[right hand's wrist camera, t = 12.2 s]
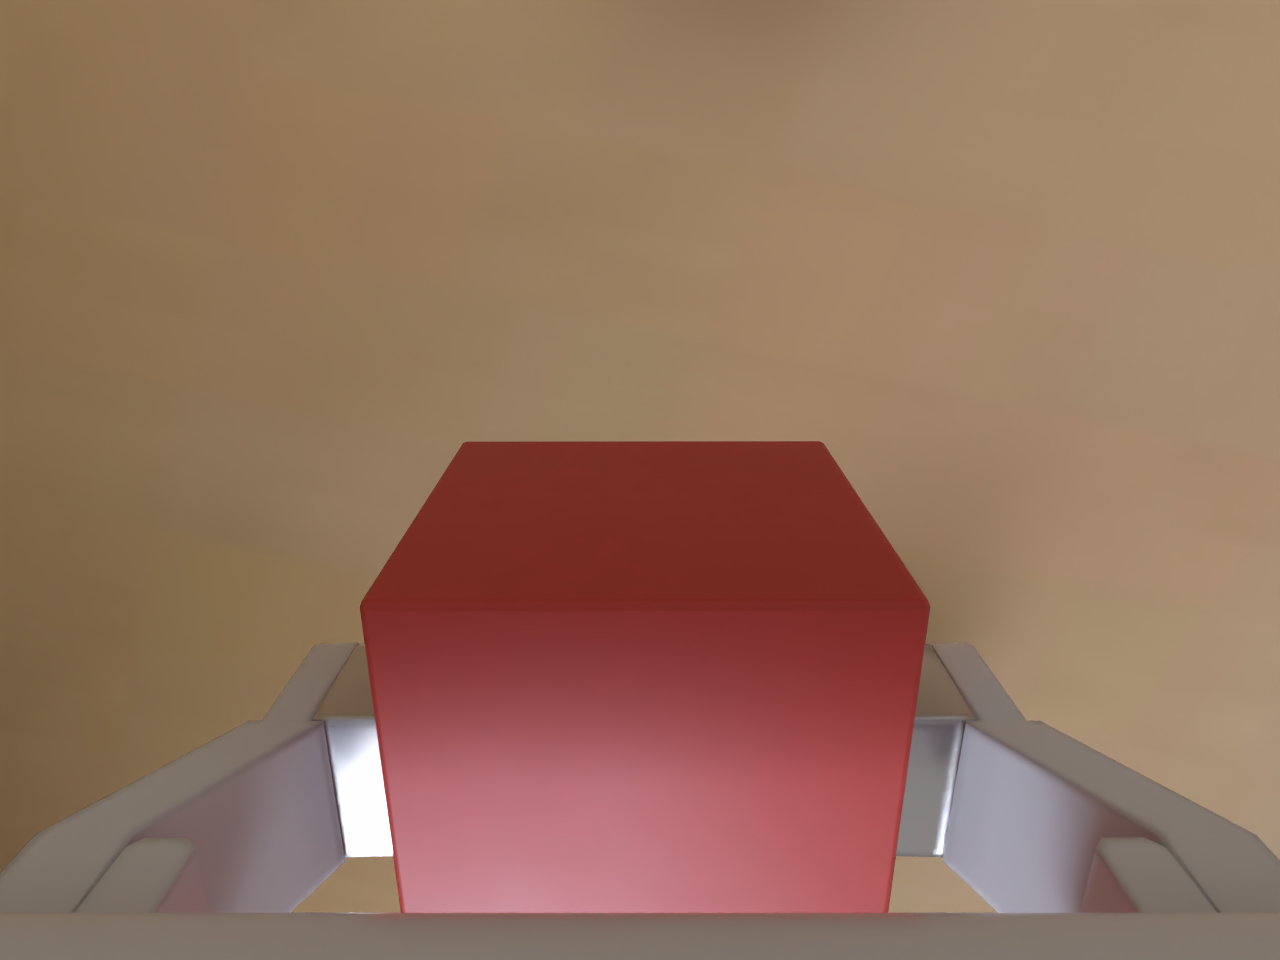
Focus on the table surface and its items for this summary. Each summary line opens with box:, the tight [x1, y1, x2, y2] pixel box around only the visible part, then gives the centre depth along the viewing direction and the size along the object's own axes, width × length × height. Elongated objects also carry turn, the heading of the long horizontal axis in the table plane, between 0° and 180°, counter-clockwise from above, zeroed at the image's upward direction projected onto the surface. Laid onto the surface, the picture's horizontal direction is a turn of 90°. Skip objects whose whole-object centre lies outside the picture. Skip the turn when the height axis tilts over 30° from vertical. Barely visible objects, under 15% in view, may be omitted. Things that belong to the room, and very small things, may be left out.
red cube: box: [360, 441, 930, 913], centre depth 10 cm, size 5×5×4 cm
